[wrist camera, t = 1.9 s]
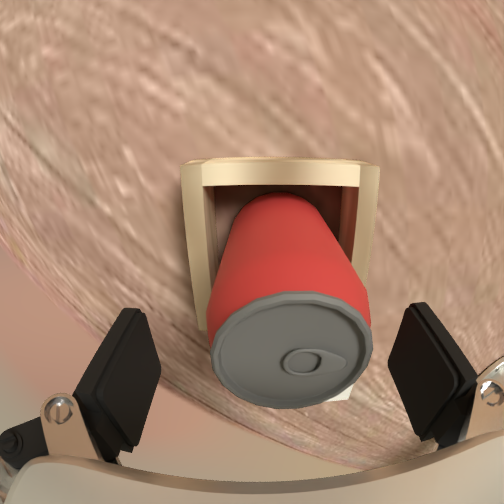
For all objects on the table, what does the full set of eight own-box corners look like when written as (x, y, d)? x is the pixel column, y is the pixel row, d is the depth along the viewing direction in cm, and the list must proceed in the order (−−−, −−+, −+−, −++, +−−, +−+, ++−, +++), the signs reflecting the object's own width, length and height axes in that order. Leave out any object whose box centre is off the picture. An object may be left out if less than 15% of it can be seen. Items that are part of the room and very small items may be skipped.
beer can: (313, 283, 21) (348, 418, 10) (226, 271, 21) (193, 406, 10) (334, 199, 19) (417, 292, 8) (237, 183, 18) (198, 262, 8)
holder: (360, 160, 17) (379, 167, 14) (345, 301, 22) (356, 328, 19) (194, 159, 18) (179, 165, 15) (207, 302, 22) (198, 330, 19)
